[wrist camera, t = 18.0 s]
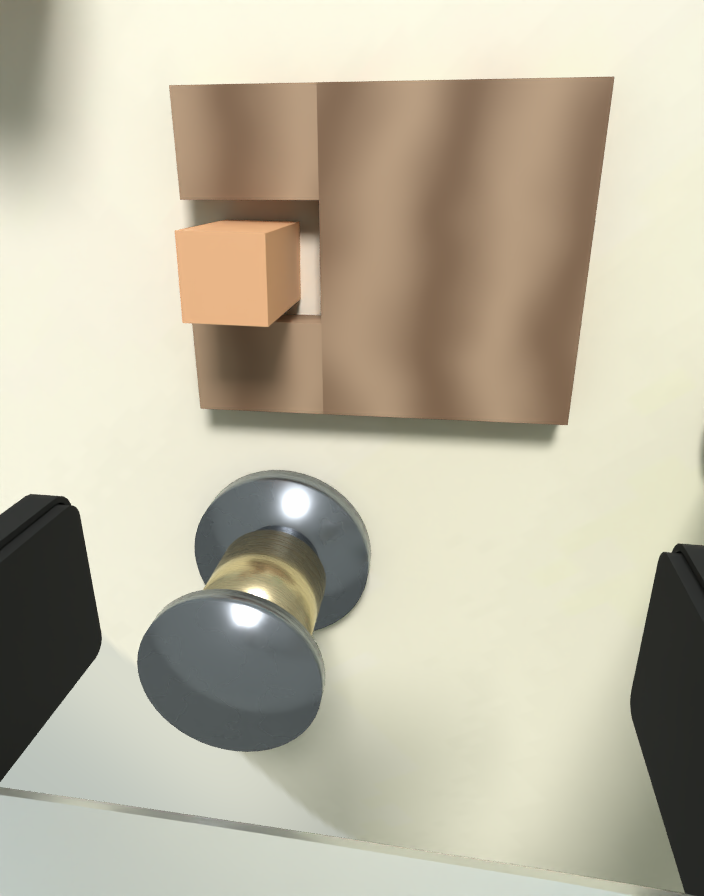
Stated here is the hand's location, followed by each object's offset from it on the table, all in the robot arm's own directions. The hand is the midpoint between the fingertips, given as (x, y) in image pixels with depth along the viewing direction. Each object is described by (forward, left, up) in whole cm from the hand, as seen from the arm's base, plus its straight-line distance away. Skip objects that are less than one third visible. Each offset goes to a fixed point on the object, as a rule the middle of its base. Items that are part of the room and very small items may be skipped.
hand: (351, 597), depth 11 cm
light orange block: (+8, -2, -27) cm, 28 cm away
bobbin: (+8, +16, -27) cm, 32 cm away
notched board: (+2, -2, -27) cm, 27 cm away
